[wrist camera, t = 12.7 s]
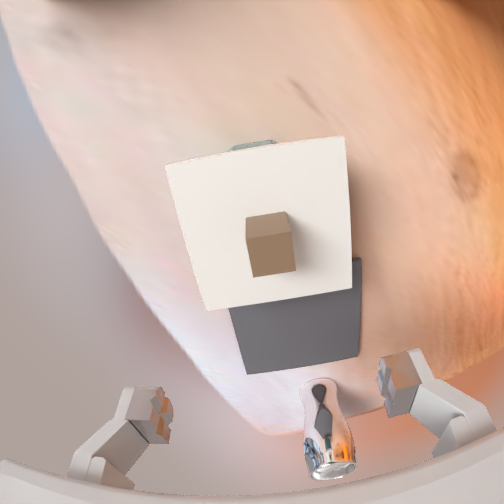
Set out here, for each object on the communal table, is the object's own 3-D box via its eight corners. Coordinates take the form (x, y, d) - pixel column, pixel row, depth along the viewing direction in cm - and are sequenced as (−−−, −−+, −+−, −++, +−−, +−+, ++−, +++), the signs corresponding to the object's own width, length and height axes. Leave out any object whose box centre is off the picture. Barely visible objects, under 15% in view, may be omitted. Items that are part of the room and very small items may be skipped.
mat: (359, 257, 36) (361, 260, 35) (356, 353, 43) (357, 356, 42) (222, 279, 37) (221, 282, 36) (247, 371, 44) (247, 374, 43)
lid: (341, 135, 24) (361, 145, 19) (349, 283, 30) (364, 314, 26) (167, 164, 24) (150, 180, 20) (206, 305, 31) (201, 339, 27)
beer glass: (288, 386, 46) (299, 472, 33) (331, 369, 44) (352, 456, 31) (305, 406, 49) (317, 485, 35) (344, 392, 47) (364, 470, 34)
